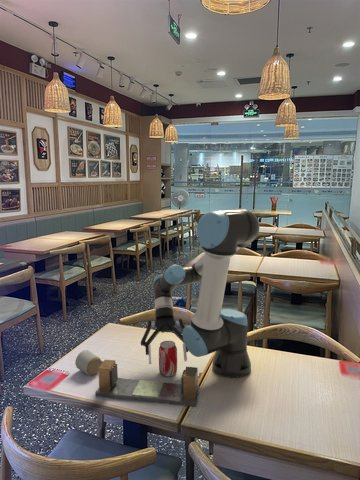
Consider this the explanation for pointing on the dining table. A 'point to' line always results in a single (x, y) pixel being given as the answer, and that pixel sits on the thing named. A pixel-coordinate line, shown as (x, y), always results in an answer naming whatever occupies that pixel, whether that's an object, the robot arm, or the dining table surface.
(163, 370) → the soda can
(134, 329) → the dining table surface
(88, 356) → the ceramic mug
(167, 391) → the rail
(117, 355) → the dining table surface
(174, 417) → the dining table surface
